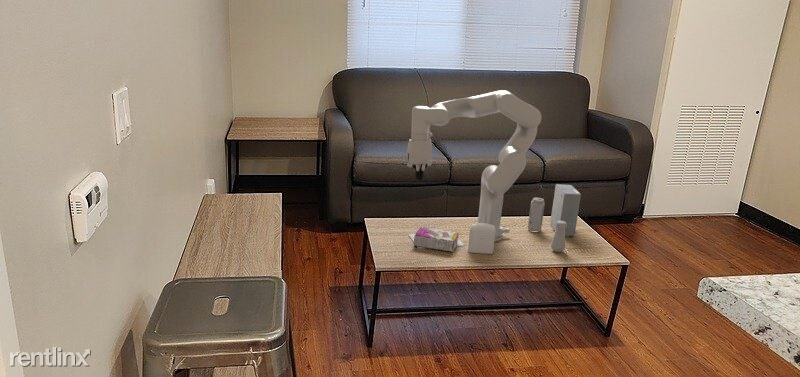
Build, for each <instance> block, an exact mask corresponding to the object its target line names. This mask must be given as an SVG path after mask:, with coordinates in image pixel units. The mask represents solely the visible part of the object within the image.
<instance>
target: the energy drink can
mask: <svg viewBox="0 0 800 377" xmlns="http://www.w3.org/2000/svg"><path fill="white" fill-rule="evenodd" d="M545 204H546V203H545V199H544V198H542V197H537V196H536V197H533V198H532V200H531V201H530V206H529V207H530V209H529V216H528V223H527V229H528V231H529V230H531V231H540V232H541V230H542V227H543V221H544V220H543V219H544V212H545V211H544V210H545ZM531 231H530V232H531Z"/></svg>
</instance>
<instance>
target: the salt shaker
mask: <svg viewBox="0 0 800 377" xmlns="http://www.w3.org/2000/svg"><path fill="white" fill-rule="evenodd" d="M556 227H557V229H556V232H555V231H554V235H553V238H552V240H551V242H550V247H551V250H552V252H554V251H555V252H554V253H556V252H561V253H563V252H564V251H565V249H566V236H565V228H566V227H567V223H566V222H565V221H557V222H556ZM562 251H563V252H562Z"/></svg>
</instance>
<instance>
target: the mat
mask: <svg viewBox="0 0 800 377" xmlns="http://www.w3.org/2000/svg"><path fill="white" fill-rule="evenodd" d="M415 234H416V233H408V234H407V236H408V237H409V238H410V239H411V241H412V242H413V243H414V236H415ZM465 246H466V245H465V243H463V242H462V241H461V240H460V238H458V243H457V245H456V247H465ZM416 247H417V249H422V250H424V249H426V248H425V247H419V246H416Z"/></svg>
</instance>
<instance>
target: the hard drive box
mask: <svg viewBox="0 0 800 377" xmlns="http://www.w3.org/2000/svg"><path fill="white" fill-rule="evenodd" d="M554 187H555V188H554V194H553V195H554V196H553V202H552V208H551V214H550V215H551V216H550V221H549V222H550V223H551V225H552V226H553V228H554V229H553V228H552V229H553V231H554V230H555V231H556V229H557V227H556V222H557V221H565V222H566V223H567V227H566V228H565V237H569V236H574V237H575V234H576V228H577V222H578V216H579V210H580V202H581V199H582V198H581V197H582V194H581V193H580V192H579V191H578V190H577V189H576V188H575V187H574V186H573V185H572V184H560V183H556V184H555V186H554ZM551 225H550V226H551ZM552 226H551V227H552ZM555 231H554V232H555Z"/></svg>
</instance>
